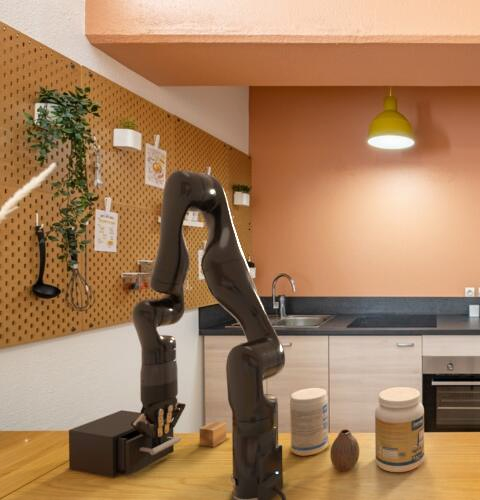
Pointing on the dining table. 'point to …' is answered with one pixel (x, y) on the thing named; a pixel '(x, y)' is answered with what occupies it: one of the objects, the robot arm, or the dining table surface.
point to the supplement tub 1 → (309, 421)
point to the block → (212, 434)
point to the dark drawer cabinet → (99, 443)
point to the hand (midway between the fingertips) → (160, 449)
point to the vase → (344, 451)
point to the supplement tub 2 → (399, 429)
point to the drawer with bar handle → (141, 451)
